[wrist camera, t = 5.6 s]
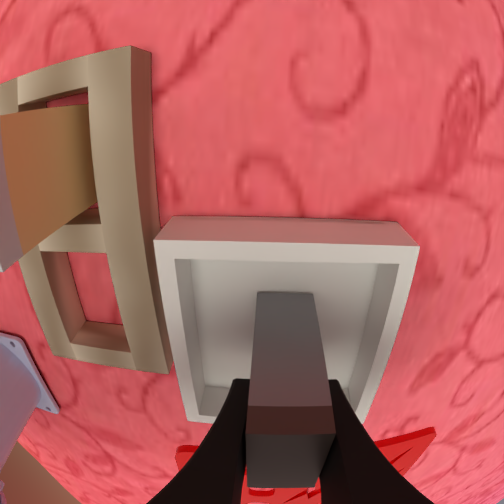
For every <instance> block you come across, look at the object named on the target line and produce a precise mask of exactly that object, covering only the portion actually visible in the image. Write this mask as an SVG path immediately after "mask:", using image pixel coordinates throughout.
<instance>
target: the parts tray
mask: <svg viewBox="0 0 504 504" xmlns="http://www.w3.org/2000/svg"><path fill="white" fill-rule="evenodd" d="M153 242H154V249H155V257H156V264H157V271H158V277H159V284H160V290H161V296H162V302H163V308H164V314H165V319H166V325H167V330H168V335H169V340H170V346H171V350H172V355H173V360H174V365H175V369H176V374H177V379H178V383H179V387H180V392H181V396H182V400H183V404H184V408H185V412H186V416H187V420H188V421H192V422H202V423H212V424H213V423H214V422H215V420H216V418H217V416H218V414H219V412H220V410H221V408H222V406H223V404H224V402H225V400H226V398H227V395H228V393H229V390H230V387H231V384H232V380H234V379H235V378H241V379H250V374H251V362H252V350H253V337H254V325H255V312H256V299H257V293H297V294H313V295H314V301H315V306H316V311H317V317H318V322H319V328H320V334H321V339H322V345H323V351H324V357H325V363H326V369H327V375H328V379H337V380H338V381H339V383H340V385H341V388H342V390H343V392H344V394H345V396H346V398H347V400H348V401H349V403H350V405H351V407H352V409H353V410H354V412H355V414H356V416H357V417H358V419H359V420H360V422H361V424H362V423H364V421H365V418H366V416H367V414H368V411H369V409H370V407H371V404H372V402H373V399H374V397H375V394H376V392H377V389H378V387H379V384H380V381H381V379H382V376H383V373H384V371H385V368H386V365H387V362H388V359H389V356H390V354H391V351H392V348H393V345H394V342H395V339H396V335H397V332H398V329H399V326H400V323H401V319H402V316H403V312H404V309H405V305H406V302H407V298H408V295H409V291H410V287H411V283H412V279H413V275H414V271H415V267H416V263H417V258H418V254H419V249H420V246H419V245H418V244H417V243H416V241H415V240H414V239H413V238H412V237H411V236H410V235H409V234H408V233H407V232H406V231H405V230H404V229H403V228H402V227H401V225H400V224H399V223H398V222H390V221H370V220H347V219H321V218H289V217H242V216H172V217H171V219H170V220H169V221H168V222H167V224H166V225H165V226H164V227H163V228H162V230H161V231H160V232H159V233H158V235H157V236H156V237H155V238H154V240H153Z"/></svg>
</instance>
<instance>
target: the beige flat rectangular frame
mask: <svg viewBox="0 0 504 504" xmlns="http://www.w3.org/2000/svg"><path fill="white" fill-rule="evenodd" d="M84 92H88V100H89V121H90V136H91V148H92V159H93V168H94V177H95V185H96V193H97V200H98V207H99V208H94V209H86V210H85V211H83V212H82V213H80V214H79V215H77V216H76V217H75V218H73V219H72V220H70V221H69V222H67V223H66V224H65V225H63V226H62V227H60V228H59V229H58V230H56V231H55V232H54V233H52V234H51V235H50V236H48V237H47V238H46V239H44V240H43V241H42V242H40V243H39V244H38V245H36V246H35V247H34V248H32V249H31V250H30V251H29V252H27V253H26V254H25V255H24V256H22V257H21V258H20V259H19V260H18V261H19V265H20V268H21V271H22V274H23V278H24V281H25V284H26V287H27V290H28V293H29V295H30V298H31V301H32V304H33V307H34V309H35V312H36V315H37V317H38V320H39V322H40V325H41V327H42V330H43V332H44V335H45V337H46V339H47V342H48V344H49V346H50V348H51V351H52V353H53V355H55V356H60V357H64V358H69V359H74V360H79V361H84V362H89V363H95V364H100V365H106V366H112V367H118V368H125V369H131V370H138V371H145V372H153V373H161V374H169V372H170V369H171V366H172V363H173V355H172V350H171V346H170V340H169V335H168V330H167V325H166V319H165V314H164V308H163V302H162V296H161V290H160V284H159V277H158V271H157V264H156V257H155V249H154V242H153V240H154V238H155V237H156V236H157V235H158V233H159V232H160V231H161V229H160V220H159V210H158V199H157V188H156V176H155V162H154V146H153V126H152V97H151V53H150V52H147V51H145V50H142V49H139V48H137V47H134V46H125V47H120V48H115V49H111V50H106V51H102V52H98V53H93V54H89V55H86V56H82V57H78V58H74V59H71V60H67V61H64V62H61V63H57V64H54V65H51V66H48V67H45V68H42V69H39V70H36V71H33V72H30V73H27V74H25V75H22V76H19V77H17V78H14V79H12V80H9V81H7V82H4V83H2V84H0V115H6V114H11V113H17V112H23V111H30V110H37V109H44V108H46V102H47V101H51V100H54V99H58V98H62V97H67V96H71V95H75V94H80V93H84ZM67 252H88V253H107V259H108V263H109V268H110V273H111V277H112V282H113V286H114V291H115V295H116V299H117V303H118V307H119V311H120V315H121V319H122V323H123V325H117V324H108V323H100V322H92V321H86V319H85V316H84V313H83V310H82V307H81V303H80V300H79V297H78V293H77V290H76V286H75V283H74V279H73V275H72V271H71V268H70V264H69V260H68V255H67Z"/></svg>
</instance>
